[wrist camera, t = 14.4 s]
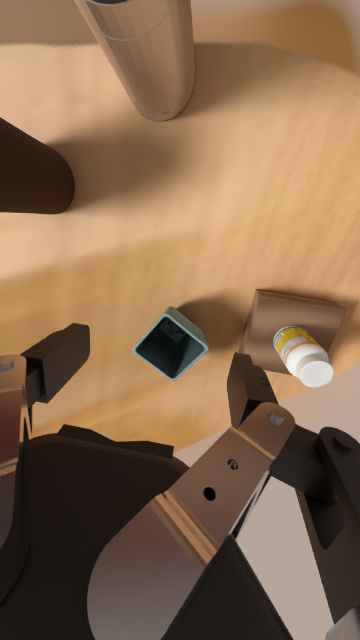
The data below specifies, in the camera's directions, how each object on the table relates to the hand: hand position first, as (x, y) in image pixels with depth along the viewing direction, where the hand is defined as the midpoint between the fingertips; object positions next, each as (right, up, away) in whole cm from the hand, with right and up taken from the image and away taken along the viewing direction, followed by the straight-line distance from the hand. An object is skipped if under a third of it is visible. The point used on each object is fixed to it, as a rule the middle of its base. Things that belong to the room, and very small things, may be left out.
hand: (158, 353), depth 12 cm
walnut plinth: (+20, 0, +28) cm, 34 cm away
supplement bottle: (+19, -1, +25) cm, 31 cm away
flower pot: (+1, +1, +30) cm, 30 cm away
